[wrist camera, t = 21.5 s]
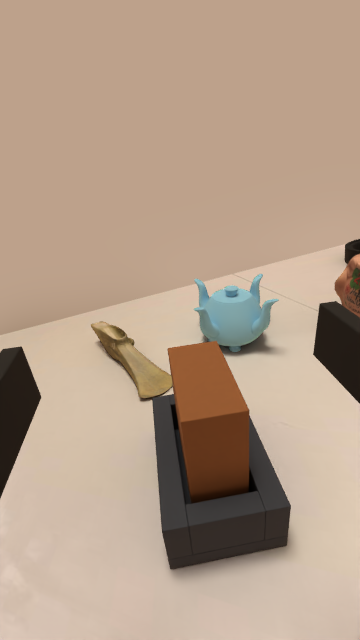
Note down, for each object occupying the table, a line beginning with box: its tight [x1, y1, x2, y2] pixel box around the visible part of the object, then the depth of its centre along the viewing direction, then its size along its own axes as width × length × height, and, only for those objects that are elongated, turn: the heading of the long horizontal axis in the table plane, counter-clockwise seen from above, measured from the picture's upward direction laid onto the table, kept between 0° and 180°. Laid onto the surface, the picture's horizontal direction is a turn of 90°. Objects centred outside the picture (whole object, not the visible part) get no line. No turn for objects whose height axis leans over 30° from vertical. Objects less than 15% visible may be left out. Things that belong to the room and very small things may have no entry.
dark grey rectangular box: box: [152, 394, 291, 569], centre depth 31 cm, size 10×15×6 cm, turn 7°
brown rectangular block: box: [168, 341, 249, 504], centre depth 29 cm, size 5×10×12 cm, turn 7°
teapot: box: [194, 274, 278, 352], centre depth 54 cm, size 13×13×10 cm
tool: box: [91, 322, 173, 398], centre depth 52 cm, size 22×6×5 cm, turn 33°
